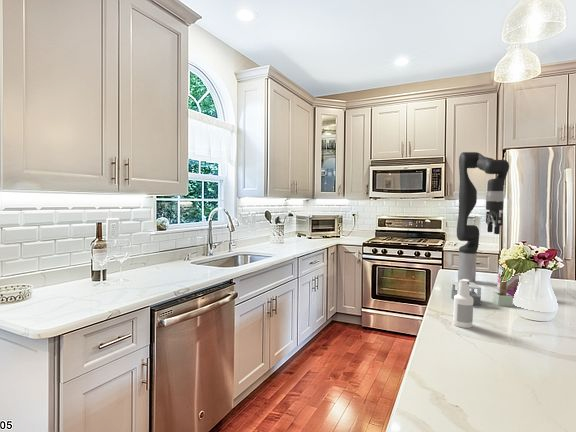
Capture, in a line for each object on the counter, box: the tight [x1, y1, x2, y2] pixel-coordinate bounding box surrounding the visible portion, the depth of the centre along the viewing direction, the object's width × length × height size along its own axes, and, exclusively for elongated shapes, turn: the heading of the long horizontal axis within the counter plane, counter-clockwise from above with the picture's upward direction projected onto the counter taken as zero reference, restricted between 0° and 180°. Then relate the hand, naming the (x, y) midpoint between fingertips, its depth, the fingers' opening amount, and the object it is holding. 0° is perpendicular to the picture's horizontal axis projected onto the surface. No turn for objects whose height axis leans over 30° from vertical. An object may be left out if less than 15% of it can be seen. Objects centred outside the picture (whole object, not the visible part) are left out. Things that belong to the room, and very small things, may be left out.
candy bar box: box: [496, 264, 519, 296], centre depth 180 cm, size 11×5×16 cm, turn 84°
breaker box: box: [450, 280, 482, 306], centre depth 170 cm, size 10×10×8 cm
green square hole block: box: [492, 291, 514, 307], centre depth 166 cm, size 6×6×5 cm
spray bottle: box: [452, 279, 474, 329], centre depth 139 cm, size 7×7×18 cm
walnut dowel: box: [500, 281, 507, 296], centre depth 166 cm, size 3×3×13 cm
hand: (493, 233), depth 176 cm, fingers open, 8 cm apart
